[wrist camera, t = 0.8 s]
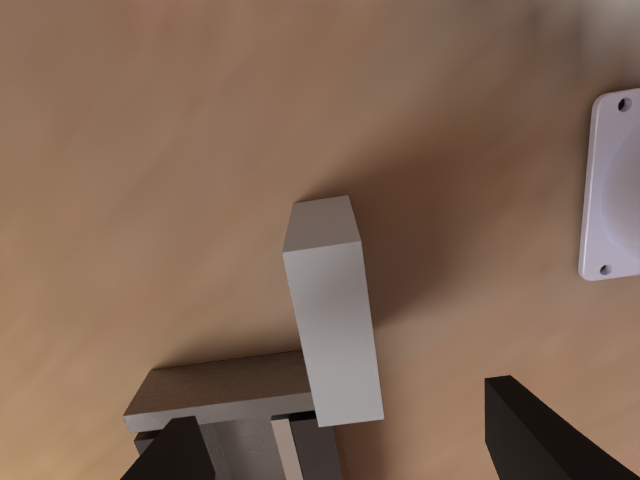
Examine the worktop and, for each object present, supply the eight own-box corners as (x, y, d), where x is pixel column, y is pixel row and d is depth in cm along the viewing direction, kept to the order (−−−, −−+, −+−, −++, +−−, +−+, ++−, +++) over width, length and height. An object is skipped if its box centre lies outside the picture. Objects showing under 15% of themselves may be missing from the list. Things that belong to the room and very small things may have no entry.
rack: (324, 347, 19) (325, 395, 16) (354, 510, 24) (359, 572, 21) (150, 370, 20) (119, 421, 17) (210, 525, 24) (194, 589, 21)
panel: (348, 194, 17) (361, 241, 12) (367, 331, 19) (384, 419, 14) (293, 203, 17) (282, 252, 12) (318, 337, 19) (318, 427, 14)
